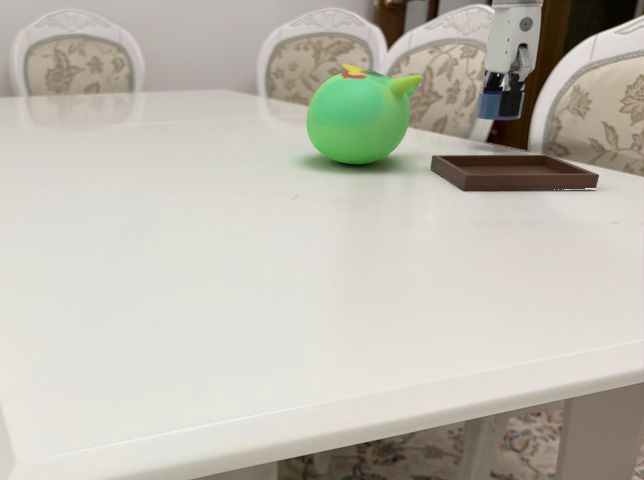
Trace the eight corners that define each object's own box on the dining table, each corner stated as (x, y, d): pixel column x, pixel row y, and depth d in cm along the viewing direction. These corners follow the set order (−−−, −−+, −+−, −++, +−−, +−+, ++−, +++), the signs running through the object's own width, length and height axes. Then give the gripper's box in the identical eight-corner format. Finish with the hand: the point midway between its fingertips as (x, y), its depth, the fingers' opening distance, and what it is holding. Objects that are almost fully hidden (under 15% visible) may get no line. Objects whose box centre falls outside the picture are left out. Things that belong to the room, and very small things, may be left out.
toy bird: (308, 151, 120) (315, 60, 113) (408, 154, 116) (421, 61, 109) (298, 171, 104) (305, 67, 97) (413, 176, 100) (429, 69, 94)
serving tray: (545, 168, 104) (548, 154, 104) (595, 190, 91) (599, 174, 90) (430, 169, 105) (432, 155, 104) (463, 191, 92) (466, 175, 91)
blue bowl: (509, 114, 121) (514, 90, 119) (527, 119, 115) (531, 94, 113) (470, 115, 121) (473, 91, 119) (485, 120, 115) (489, 95, 113)
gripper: (568, -5, 102) (543, 119, 110) (518, -2, 118) (500, 107, 125) (517, -4, 102) (496, 120, 110) (474, 0, 118) (458, 108, 125)
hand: (498, 112), depth 117 cm, fingers closed on blue bowl, 7 cm apart
